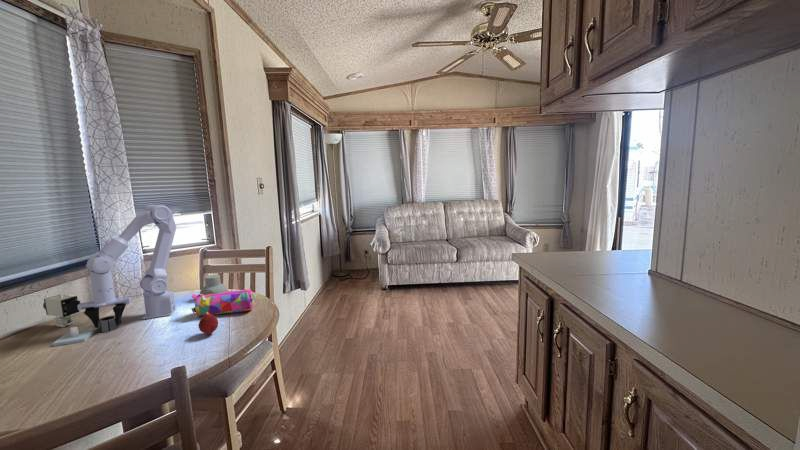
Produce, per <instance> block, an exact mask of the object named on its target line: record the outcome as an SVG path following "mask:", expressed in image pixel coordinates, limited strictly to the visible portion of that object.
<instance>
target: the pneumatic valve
mask: <svg viewBox="0 0 800 450" xmlns="http://www.w3.org/2000/svg"><path fill="white" fill-rule="evenodd" d="M43 301H44V302H43V304H42V307H43V309H44V310H45V313H46V316H51V317H52V316H54V317H56V318H55V319H54V321H55V326H56V327H58V328H65V327H66V326H69V325H74V319H73V318H74V317H73V315H74V314H76V313H80V310H78V307H77V305H78V304H80V303H81V301H80V300H78V296H77V295H73V294H72V295H71V294H68V295H67V294H61V293H60V294H57V295H54V296H49V297H46V298H43Z"/></svg>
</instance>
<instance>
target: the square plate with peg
mask: <svg viewBox="0 0 800 450" xmlns="http://www.w3.org/2000/svg"><path fill="white" fill-rule="evenodd" d="M96 329H97V328H92V329H87V330H86V329H84V330H80V331H79V326H78V325H77V326H75V325H74V326H70V327H69V332H66V333H64V334H63V335H61V336H60V337H59V338H58V339H57V340H55V341H54V342H52V347H58V346H65V345H72V344H76V343H83V342H86V341H87V340H88V339H89V338H91V336H93V335H94V333H96V332H97V330H96Z"/></svg>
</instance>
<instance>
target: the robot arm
mask: <svg viewBox="0 0 800 450" xmlns="http://www.w3.org/2000/svg"><path fill="white" fill-rule="evenodd" d="M174 219H175V217H174V212H173V211H172V210H171V209H170V208H169V207H168V206H166V205H163V204H147V205H146V206H144V207H143V209H142V210H140V211H139V212H138V213H137V214H136V216H135V217H134V218H133V219H132V220H131V222H130V223H129V224H128V225H127V226H126V227H125V229H123V231H122V232H121V233H120V234H119V236H117V237H111V238H110V239H106V241H105V242H104V243H105V244H104V245H103V247H102V248H101V249H100V250H98V251H96V252H94V256H92V257H90V258H89V259H88V260H87V262H86V264H85V268H86V269H87V270H88V271H89V275H90V285H91V292H92V297H93V301H87V302H80V304H78V305H77V307H78V310H79V311H82V310H85V311H83V313H84V315H85V316H86V317H88V319H89V320H90V321H91V322H92V324H93V326H94V329H98V326H97V320H98V319H100V318H101V317H100V308H103V307H109V306H111V307H112V306H113V307H112V310H113V313H114V315H115V318H116V325H119V326H120V324H121V323H122V318H123V313H124V311H125V308H126V306H127V305H129V304H131V303H132V297H131V296H129V297H116V293H115V286H114V278H113V274H112V270H113V269H114V267H115V262H116V261H117V260H118V259H119V258H120V257H121V256H122V255H123V253H125V251H126V250H127V249H128V248H129V242H130V240H131V239H133V237H135V236H136V235H137V234H138V233H139V232H140V231H141V230H142V229H143V228H144V226H148V225H152V224H154V225H155V226H156V227H157V228H158V234H157V237H156V238H157V239H156V241H155V246H154V249H153V253H152V257H151V260H150V265H149V267H148V269H147V270H146V271H145V274H144V276H143V277H141V280H140V281H139V287H140V288H141V289H142V290H143V294H142V295H143V301H144V309H145V310H144V311H145V314H144V316H143V317H142V318H141V319H142V320H148V319H155V318H162V317H168V316H172V315H173V314H174V312H175V310H176V303H175V295H174V291H172V290H169V291H168V286H169V284H168V274H167V271H166V269H167V265H168V262H169V258H170V257H169V256H170V254H171V250H172V245H173V242H174V237H175V235H176V229H177V225H176V222H175V220H174Z"/></svg>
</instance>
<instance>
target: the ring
mask: <svg viewBox="0 0 800 450" xmlns="http://www.w3.org/2000/svg"><path fill="white" fill-rule="evenodd" d="M99 318H100V319H98V320H97V326H98V328H97V332H98V333H103V334H104V333H107V332H108V333H109V332H112V331H115V330H118V328H120V324H119V325H116V318H115V314H114V315H107V316H104V317H99Z"/></svg>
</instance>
